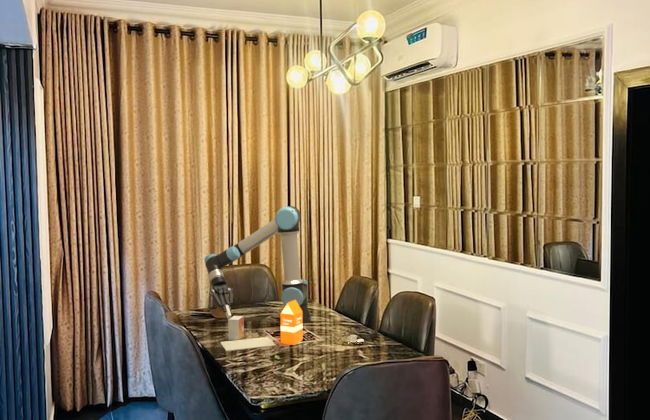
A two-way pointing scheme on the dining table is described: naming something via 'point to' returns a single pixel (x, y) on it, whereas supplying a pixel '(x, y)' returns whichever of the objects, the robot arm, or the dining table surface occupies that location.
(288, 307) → the orange juice
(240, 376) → the dining table surface
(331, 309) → the dining table surface
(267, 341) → the mat
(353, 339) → the teacup and saucer
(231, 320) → the small box
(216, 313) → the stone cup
